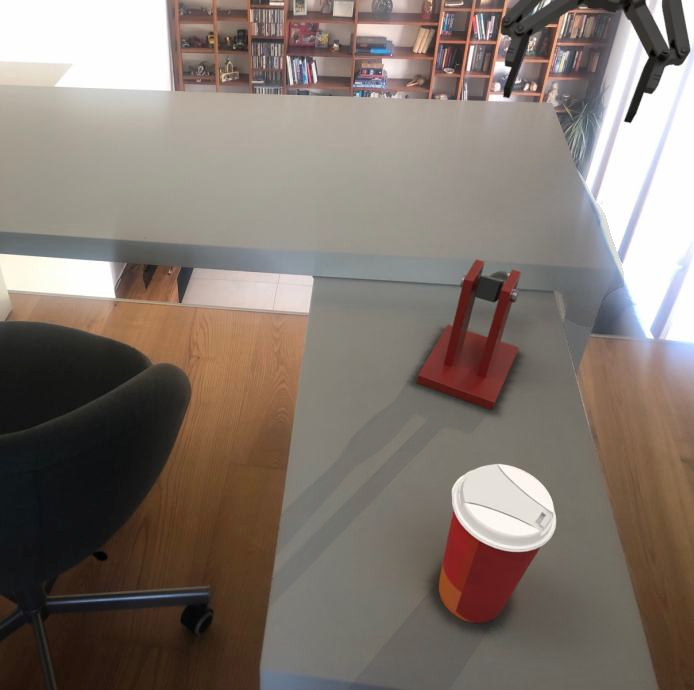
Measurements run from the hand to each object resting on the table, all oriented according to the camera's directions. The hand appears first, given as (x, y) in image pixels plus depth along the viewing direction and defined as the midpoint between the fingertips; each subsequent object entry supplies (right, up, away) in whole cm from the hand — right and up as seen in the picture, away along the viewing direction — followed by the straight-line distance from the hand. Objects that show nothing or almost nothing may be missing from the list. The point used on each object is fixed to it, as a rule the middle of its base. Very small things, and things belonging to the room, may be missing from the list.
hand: (566, 105), depth 80 cm
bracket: (-10, -31, +4) cm, 32 cm away
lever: (-8, -22, +2) cm, 24 cm away
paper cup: (-17, -50, -18) cm, 56 cm away
